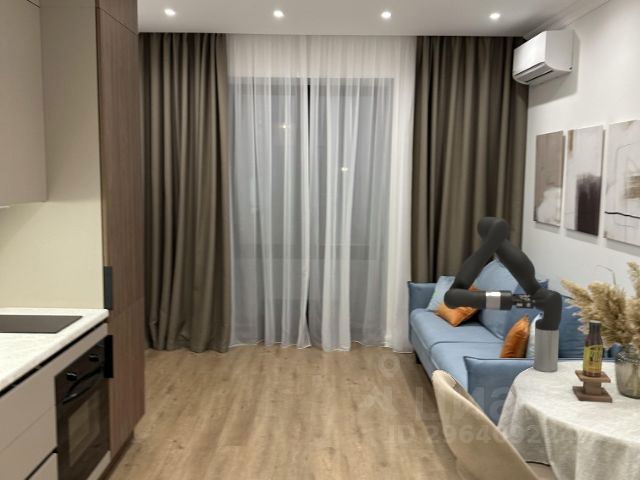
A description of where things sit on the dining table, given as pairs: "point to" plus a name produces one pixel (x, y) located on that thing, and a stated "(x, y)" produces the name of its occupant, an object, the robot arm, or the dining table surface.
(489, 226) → the robot arm
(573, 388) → the walnut pedestal
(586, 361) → the sauce bottle
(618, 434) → the dining table surface
